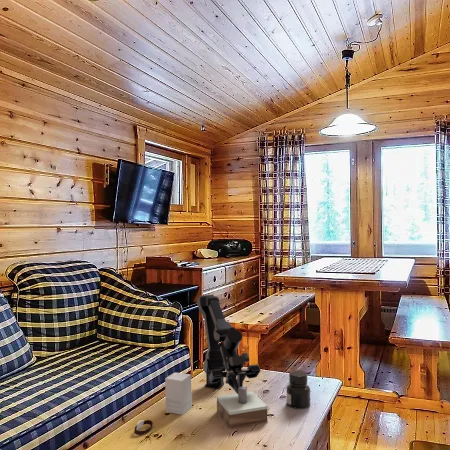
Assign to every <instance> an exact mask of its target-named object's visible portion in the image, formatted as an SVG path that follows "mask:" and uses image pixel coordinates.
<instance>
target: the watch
mask: <svg viewBox="0 0 450 450" xmlns="http://www.w3.org/2000/svg"><path fill="white" fill-rule="evenodd" d="M153 424H154V422H153V420H151V419H145V420H143V419H142V420H141V419H140V420H138V422H137V424H136V425H135V426H134V431H133V432H134V434H135V435H136V436H143V435H146V434H147V433H149V432H150V431H151V430H152V428H153ZM145 425H149V427H148V428H146V429H144V430H141V429H142V428H143V426H145Z"/></svg>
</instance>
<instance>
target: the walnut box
mask: <svg viewBox="0 0 450 450" xmlns="http://www.w3.org/2000/svg"><path fill="white" fill-rule="evenodd" d="M216 412H217V414H218V416H220V418H221V419H222V420H223V422H224V423H225V424H226V426H227V428H229V429H236V428H241V427H247V426H253V425H258V424H264V423H268V421H269V420H268V409H264V410H258V411H251V412H245V413H239V414H233V415H229V413H228V412H227V411H226V410H225V409H224V407H223V406H222V405H221V404H220V402H219V401H218V400H217V399H216Z"/></svg>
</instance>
